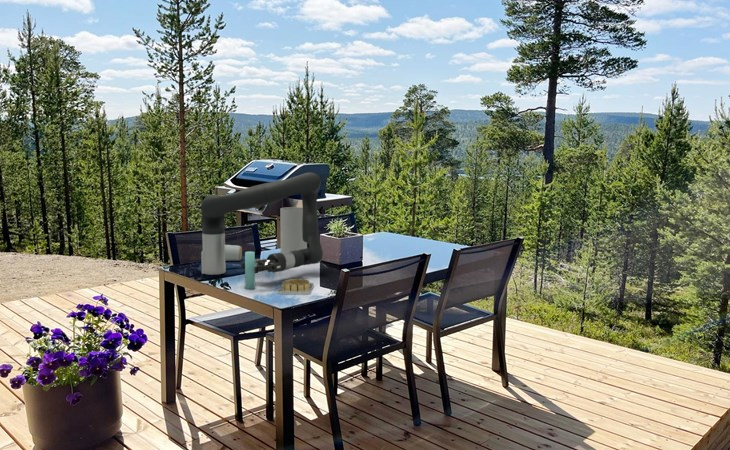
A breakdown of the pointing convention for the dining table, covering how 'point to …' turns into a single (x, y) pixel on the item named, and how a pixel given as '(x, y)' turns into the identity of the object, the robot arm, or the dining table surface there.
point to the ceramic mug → (233, 253)
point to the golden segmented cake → (296, 287)
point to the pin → (249, 270)
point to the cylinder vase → (291, 229)
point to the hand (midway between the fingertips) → (248, 267)
